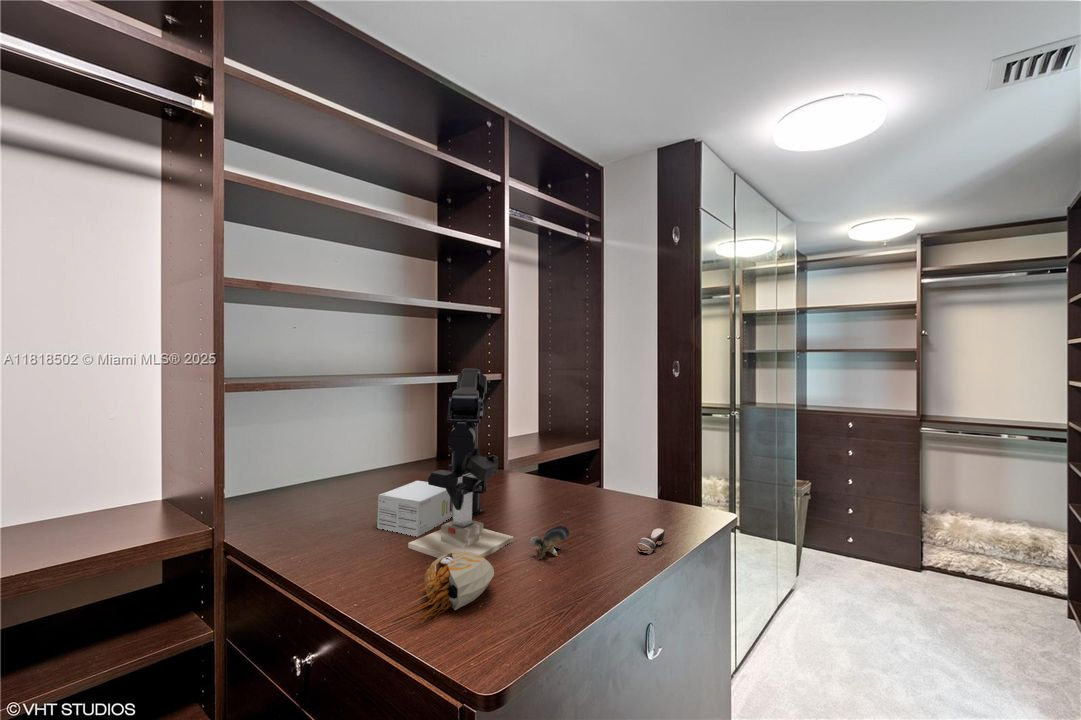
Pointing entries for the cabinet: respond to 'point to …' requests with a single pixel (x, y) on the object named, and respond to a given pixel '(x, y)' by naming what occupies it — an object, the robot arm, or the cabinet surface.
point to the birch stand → (461, 540)
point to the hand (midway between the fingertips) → (462, 507)
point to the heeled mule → (652, 539)
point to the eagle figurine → (550, 540)
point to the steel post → (463, 511)
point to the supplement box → (414, 508)
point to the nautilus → (455, 581)
